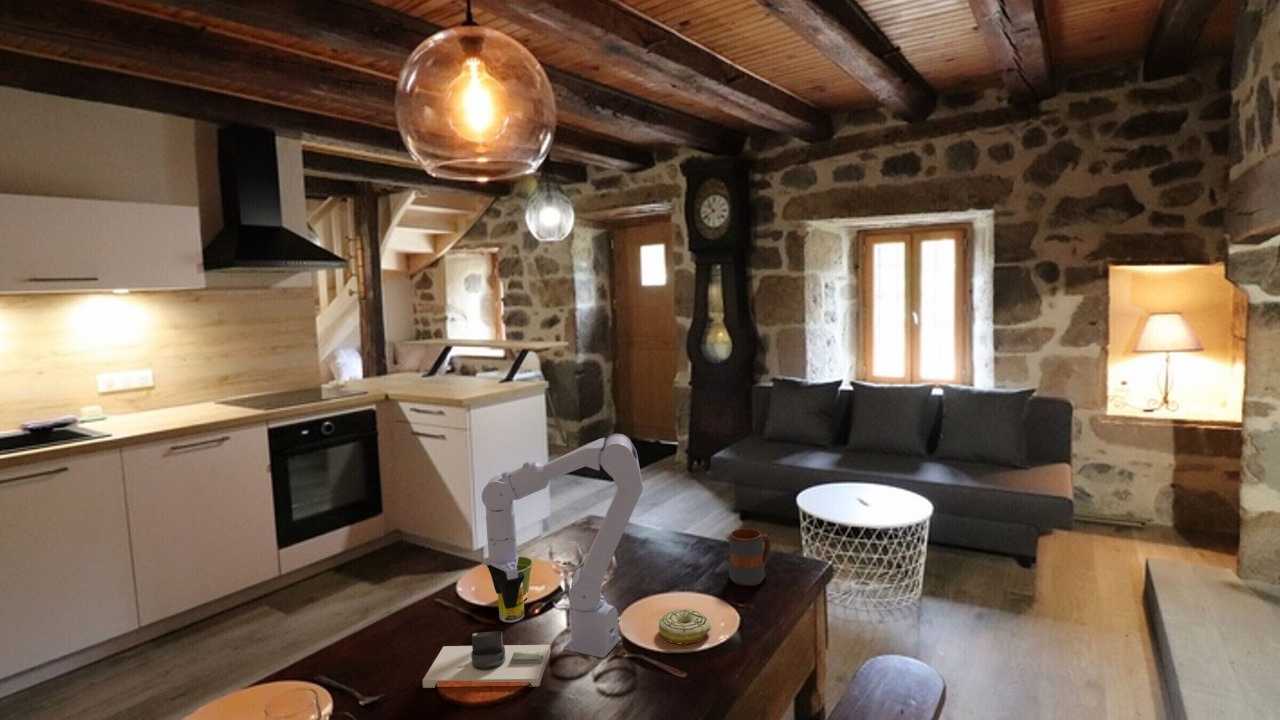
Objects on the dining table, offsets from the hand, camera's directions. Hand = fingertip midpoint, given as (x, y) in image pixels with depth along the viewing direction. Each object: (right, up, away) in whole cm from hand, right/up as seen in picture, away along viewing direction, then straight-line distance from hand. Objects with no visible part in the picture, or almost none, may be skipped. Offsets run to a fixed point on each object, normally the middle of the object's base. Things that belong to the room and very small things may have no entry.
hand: (505, 599), depth 141 cm
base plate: (-2, -11, -6) cm, 13 cm away
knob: (-2, -10, -7) cm, 12 cm away
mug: (+55, -5, +30) cm, 63 cm away
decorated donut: (+37, -9, +4) cm, 38 cm away
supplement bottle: (-1, -9, +14) cm, 17 cm away
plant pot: (-2, -8, +23) cm, 25 cm away
